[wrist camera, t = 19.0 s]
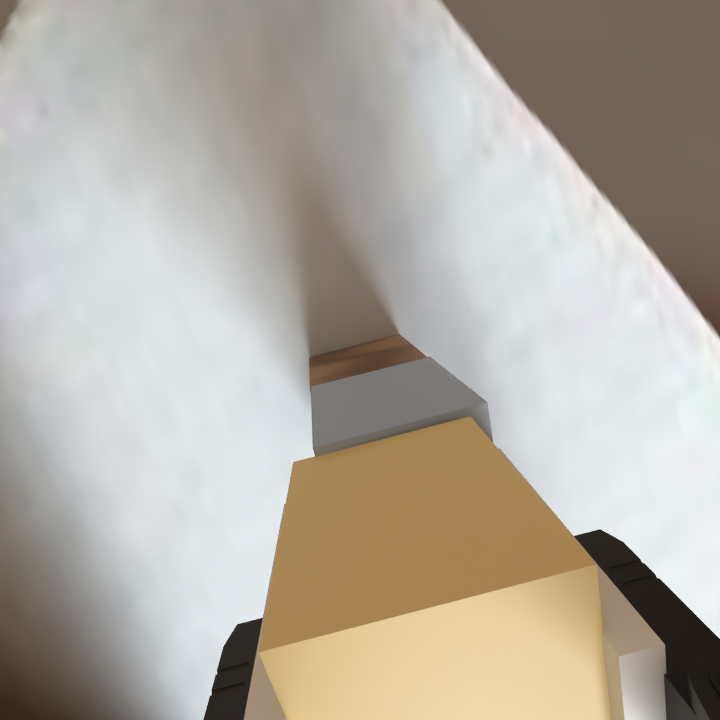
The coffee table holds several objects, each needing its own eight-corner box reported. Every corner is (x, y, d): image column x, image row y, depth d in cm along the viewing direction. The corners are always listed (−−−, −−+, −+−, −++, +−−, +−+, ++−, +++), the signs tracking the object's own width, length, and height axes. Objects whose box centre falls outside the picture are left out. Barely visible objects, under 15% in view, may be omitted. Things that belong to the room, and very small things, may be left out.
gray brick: (339, 492, 19) (353, 592, 13) (310, 386, 18) (313, 447, 12) (449, 463, 20) (508, 548, 14) (430, 356, 18) (487, 402, 12)
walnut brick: (332, 440, 25) (340, 495, 19) (309, 357, 24) (310, 390, 18) (417, 417, 25) (449, 464, 20) (399, 334, 24) (428, 358, 18)
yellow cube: (340, 603, 14) (346, 864, 8) (293, 462, 12) (258, 652, 6) (497, 562, 14) (620, 791, 8) (470, 416, 12) (596, 564, 6)
